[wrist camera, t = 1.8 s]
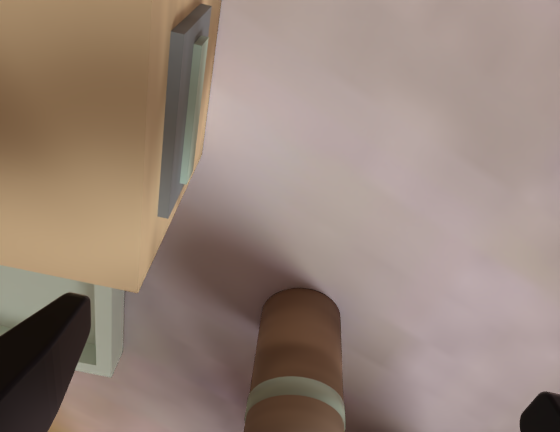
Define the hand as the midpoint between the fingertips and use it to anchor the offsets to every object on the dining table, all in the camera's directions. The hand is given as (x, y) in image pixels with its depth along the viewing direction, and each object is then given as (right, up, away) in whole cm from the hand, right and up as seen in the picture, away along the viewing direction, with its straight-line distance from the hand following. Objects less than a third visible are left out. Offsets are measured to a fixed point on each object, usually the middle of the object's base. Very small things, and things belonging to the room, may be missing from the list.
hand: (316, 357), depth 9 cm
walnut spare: (0, -2, +15) cm, 15 cm away
